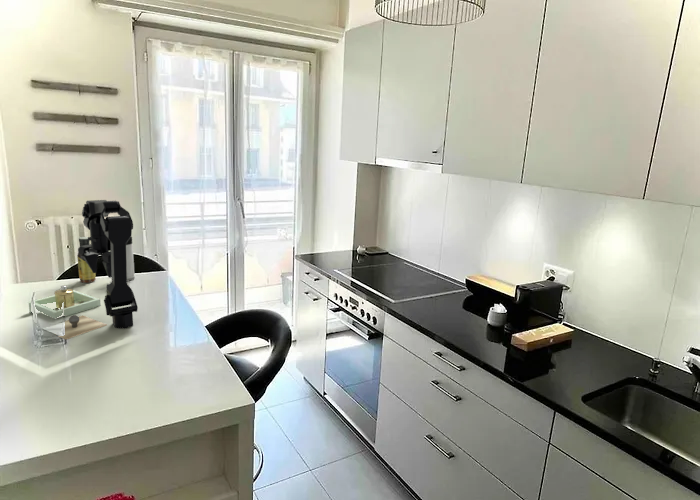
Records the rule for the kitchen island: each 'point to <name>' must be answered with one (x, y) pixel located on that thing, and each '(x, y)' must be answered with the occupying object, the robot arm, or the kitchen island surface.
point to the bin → (78, 297)
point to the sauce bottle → (84, 265)
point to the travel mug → (130, 260)
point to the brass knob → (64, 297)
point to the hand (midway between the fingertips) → (102, 275)
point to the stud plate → (80, 326)
